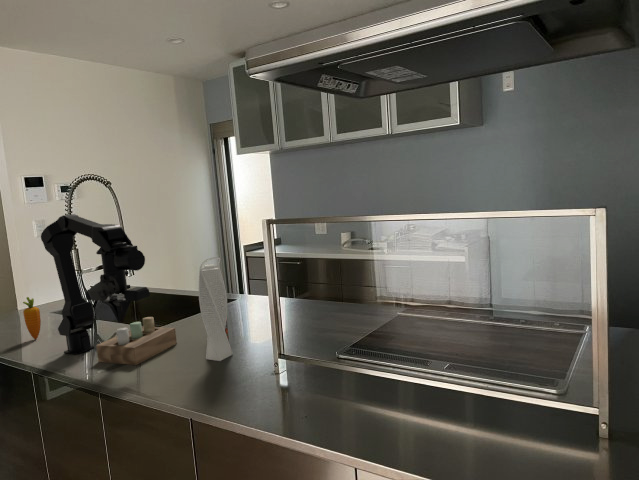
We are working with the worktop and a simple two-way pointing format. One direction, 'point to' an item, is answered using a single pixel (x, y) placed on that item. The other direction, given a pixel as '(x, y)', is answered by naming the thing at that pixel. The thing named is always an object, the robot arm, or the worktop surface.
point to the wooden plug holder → (137, 347)
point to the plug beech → (148, 325)
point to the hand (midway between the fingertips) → (121, 322)
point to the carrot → (32, 318)
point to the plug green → (136, 330)
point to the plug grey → (123, 336)
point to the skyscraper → (214, 310)
